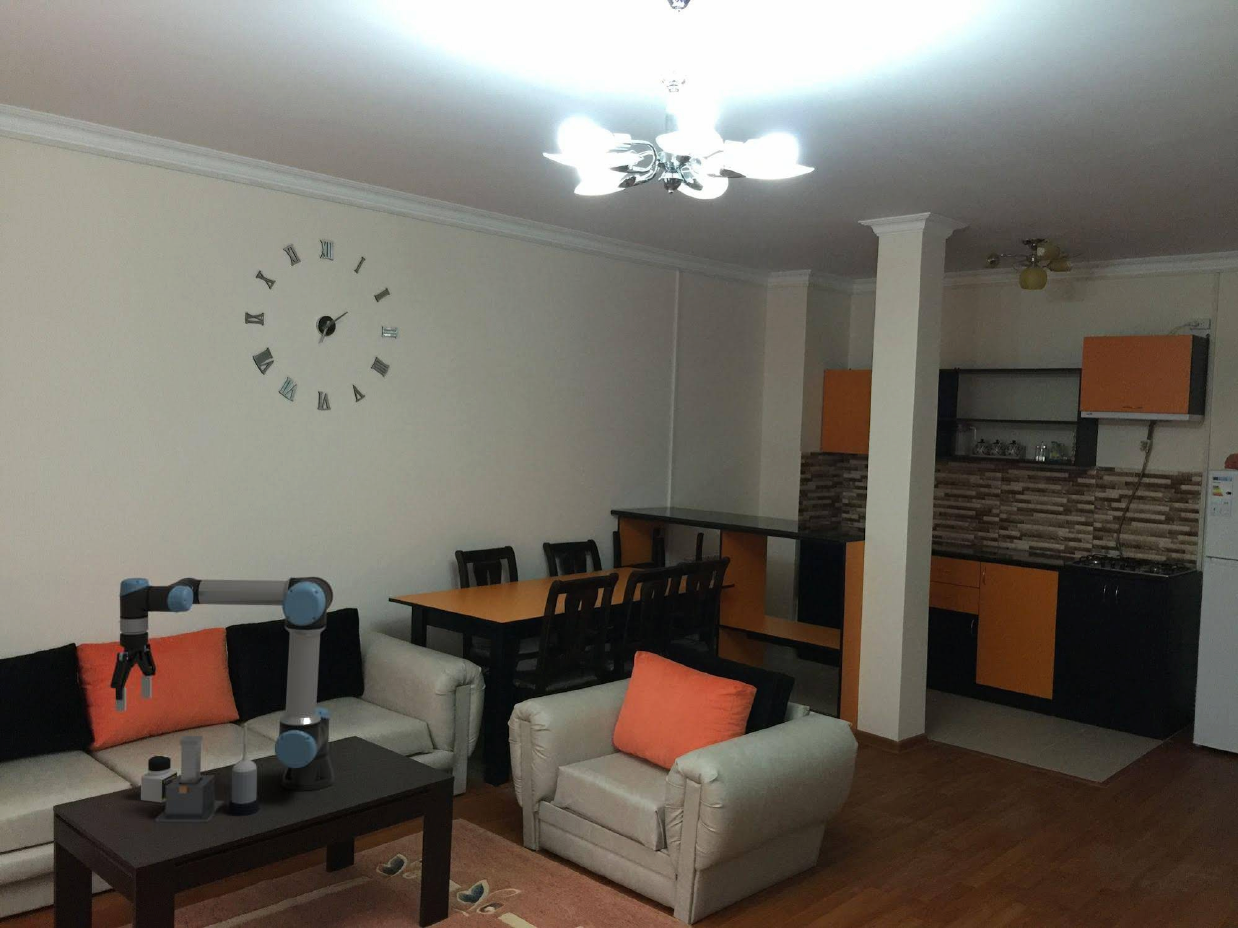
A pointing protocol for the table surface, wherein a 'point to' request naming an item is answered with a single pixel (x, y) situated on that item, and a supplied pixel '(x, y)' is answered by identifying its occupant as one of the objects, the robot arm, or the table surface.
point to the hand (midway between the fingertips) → (133, 704)
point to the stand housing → (190, 801)
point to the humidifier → (244, 785)
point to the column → (190, 759)
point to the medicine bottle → (157, 779)
